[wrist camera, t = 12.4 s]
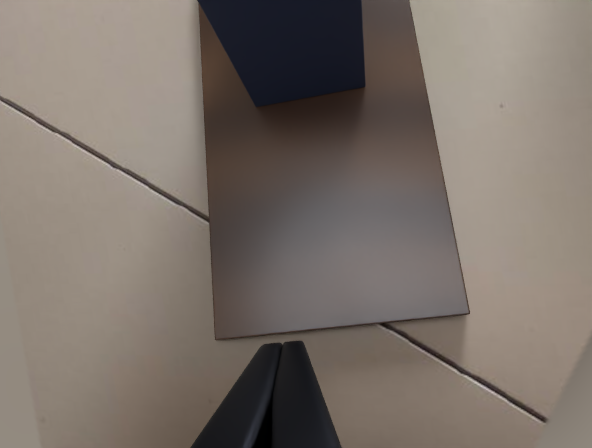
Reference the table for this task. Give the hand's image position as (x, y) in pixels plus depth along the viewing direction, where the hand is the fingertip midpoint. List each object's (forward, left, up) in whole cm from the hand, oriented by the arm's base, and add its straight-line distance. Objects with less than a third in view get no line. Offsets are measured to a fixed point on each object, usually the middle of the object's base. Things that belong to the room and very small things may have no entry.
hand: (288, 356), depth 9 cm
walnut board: (+6, +10, -13) cm, 17 cm away
